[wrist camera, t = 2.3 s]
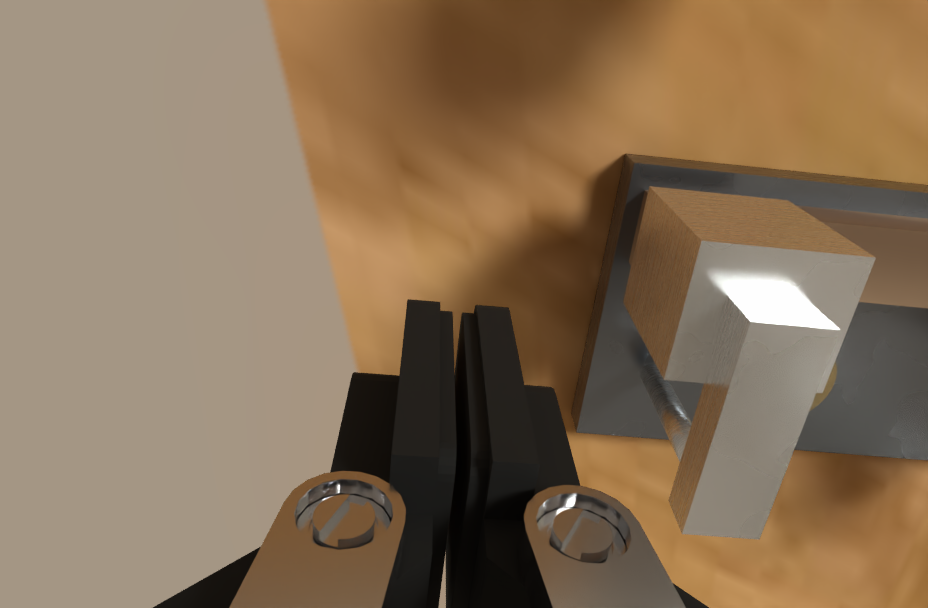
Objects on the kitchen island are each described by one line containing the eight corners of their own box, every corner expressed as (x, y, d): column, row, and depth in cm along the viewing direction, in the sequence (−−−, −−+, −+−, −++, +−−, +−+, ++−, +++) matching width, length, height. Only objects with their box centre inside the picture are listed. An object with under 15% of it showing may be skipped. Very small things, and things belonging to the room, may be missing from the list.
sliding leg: (704, 391, 23) (797, 542, 17) (591, 381, 23) (643, 531, 17) (767, 186, 20) (908, 278, 14) (637, 173, 20) (721, 260, 14)
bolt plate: (1111, 457, 27) (1143, 480, 26) (571, 413, 26) (576, 435, 25) (1264, 220, 23) (1310, 233, 22) (625, 153, 22) (635, 164, 20)
